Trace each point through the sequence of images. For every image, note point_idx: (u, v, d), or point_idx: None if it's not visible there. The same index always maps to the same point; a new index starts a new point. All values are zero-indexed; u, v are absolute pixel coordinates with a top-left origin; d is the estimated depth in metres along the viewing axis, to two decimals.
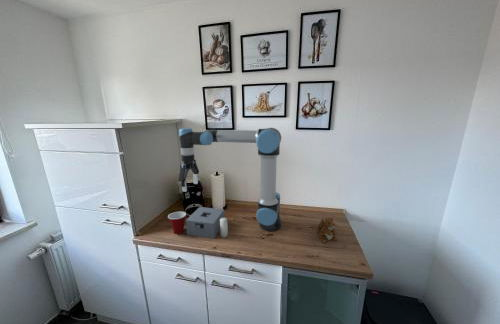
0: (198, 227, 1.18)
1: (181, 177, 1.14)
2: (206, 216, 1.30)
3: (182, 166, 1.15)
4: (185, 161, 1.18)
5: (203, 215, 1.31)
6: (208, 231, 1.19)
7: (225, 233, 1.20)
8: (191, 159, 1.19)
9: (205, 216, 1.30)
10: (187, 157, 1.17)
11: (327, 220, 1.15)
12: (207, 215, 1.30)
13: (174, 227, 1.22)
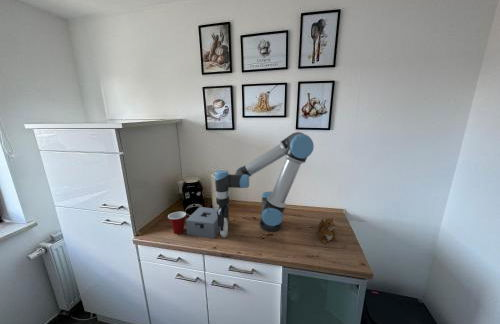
0: (198, 227, 1.18)
1: (220, 223, 1.14)
2: (206, 216, 1.30)
3: (219, 213, 1.12)
4: (221, 205, 1.14)
5: (203, 215, 1.31)
6: (208, 231, 1.19)
7: (225, 233, 1.20)
8: (227, 202, 1.15)
9: (205, 216, 1.30)
10: (223, 201, 1.13)
11: (327, 220, 1.15)
12: (207, 215, 1.30)
13: (174, 227, 1.22)
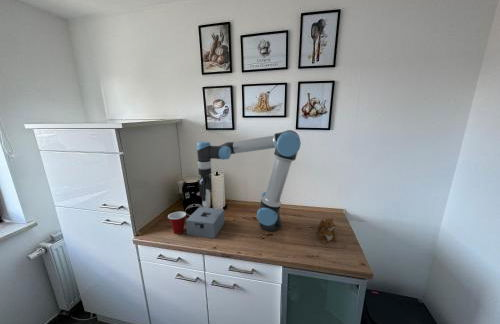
0: (198, 227, 1.18)
1: (202, 193, 1.17)
2: (206, 216, 1.30)
3: (200, 183, 1.15)
4: (202, 175, 1.17)
5: (203, 215, 1.31)
6: (208, 231, 1.19)
7: (207, 204, 1.23)
8: (208, 173, 1.18)
9: (205, 216, 1.30)
10: (205, 171, 1.16)
11: (327, 221, 1.15)
12: (207, 215, 1.30)
13: (174, 227, 1.22)
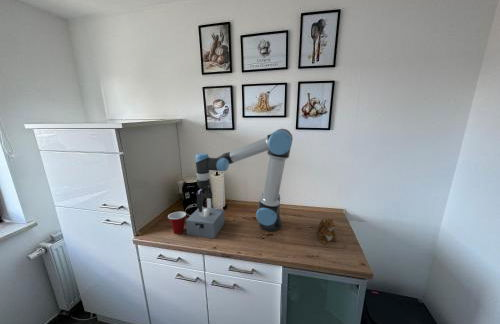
0: (197, 228, 1.18)
1: (199, 203, 1.17)
2: None
3: (199, 192, 1.17)
4: (201, 186, 1.19)
5: None
6: (208, 231, 1.19)
7: None
8: (207, 184, 1.20)
9: None
10: (203, 182, 1.19)
11: (327, 221, 1.14)
12: None
13: (174, 227, 1.22)
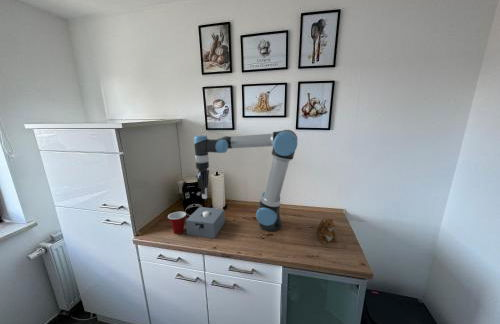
0: (197, 228, 1.17)
1: (201, 186, 1.19)
2: None
3: (198, 177, 1.16)
4: (200, 169, 1.17)
5: None
6: (208, 231, 1.19)
7: None
8: (206, 166, 1.18)
9: None
10: (202, 165, 1.16)
11: (327, 221, 1.14)
12: None
13: (174, 227, 1.22)
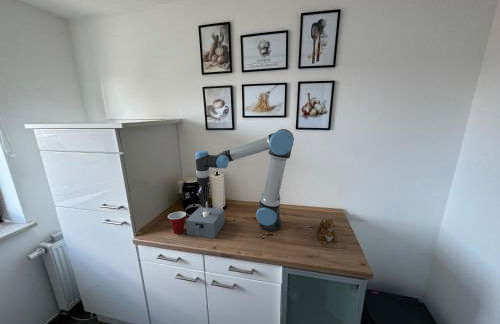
0: (197, 228, 1.17)
1: (202, 200, 1.21)
2: None
3: (199, 192, 1.18)
4: (201, 183, 1.19)
5: None
6: (208, 231, 1.19)
7: None
8: (207, 181, 1.20)
9: None
10: (203, 180, 1.19)
11: (327, 221, 1.14)
12: None
13: (174, 227, 1.22)
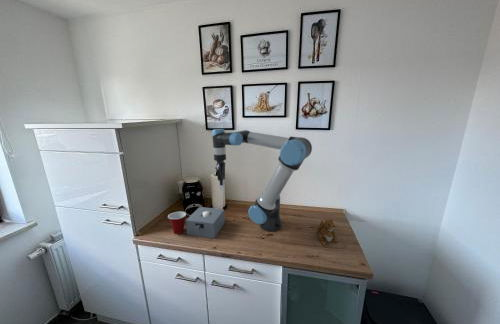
0: (197, 228, 1.17)
1: (220, 177, 1.25)
2: None
3: (217, 169, 1.22)
4: (218, 160, 1.23)
5: None
6: (208, 231, 1.19)
7: None
8: (224, 158, 1.24)
9: None
10: (220, 156, 1.22)
11: (327, 222, 1.14)
12: None
13: (174, 227, 1.22)
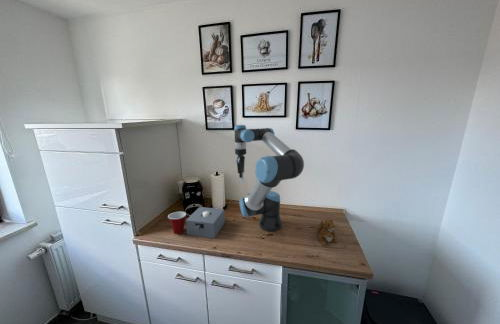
0: (197, 228, 1.17)
1: (240, 170, 1.34)
2: None
3: (238, 162, 1.30)
4: (239, 154, 1.31)
5: None
6: (208, 231, 1.19)
7: None
8: (244, 152, 1.32)
9: None
10: (241, 151, 1.31)
11: (327, 222, 1.13)
12: None
13: (174, 227, 1.22)
